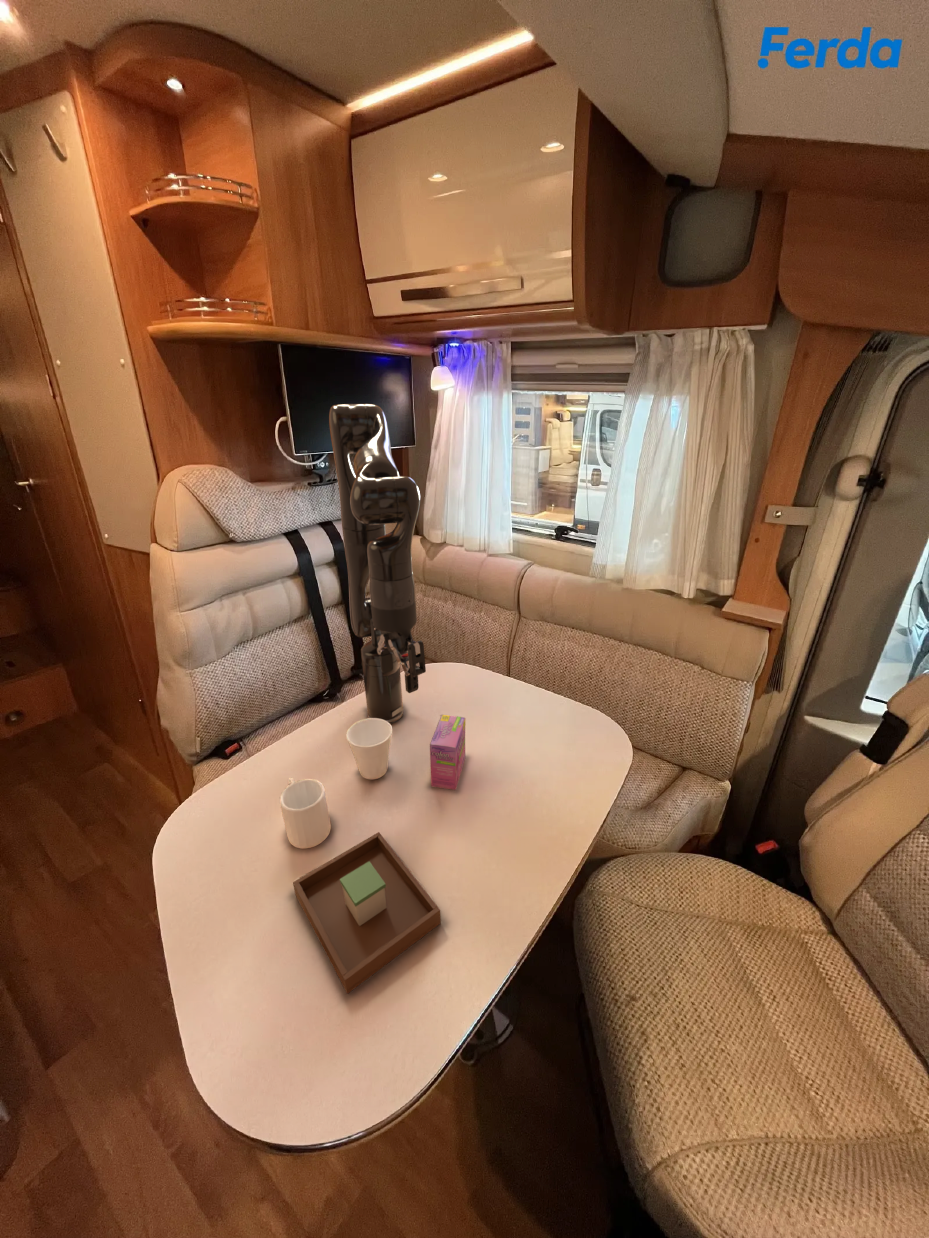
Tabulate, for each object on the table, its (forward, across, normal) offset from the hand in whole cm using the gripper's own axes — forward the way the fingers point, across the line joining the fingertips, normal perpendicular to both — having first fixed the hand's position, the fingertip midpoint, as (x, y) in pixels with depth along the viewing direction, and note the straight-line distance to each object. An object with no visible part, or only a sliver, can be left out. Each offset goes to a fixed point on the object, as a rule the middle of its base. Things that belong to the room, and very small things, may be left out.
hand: (399, 680), depth 91 cm
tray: (+30, -15, +18) cm, 38 cm away
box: (+30, +2, -12) cm, 33 cm away
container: (+29, -15, +18) cm, 38 cm away
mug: (+30, +8, +19) cm, 37 cm away
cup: (+30, +13, +1) cm, 33 cm away
